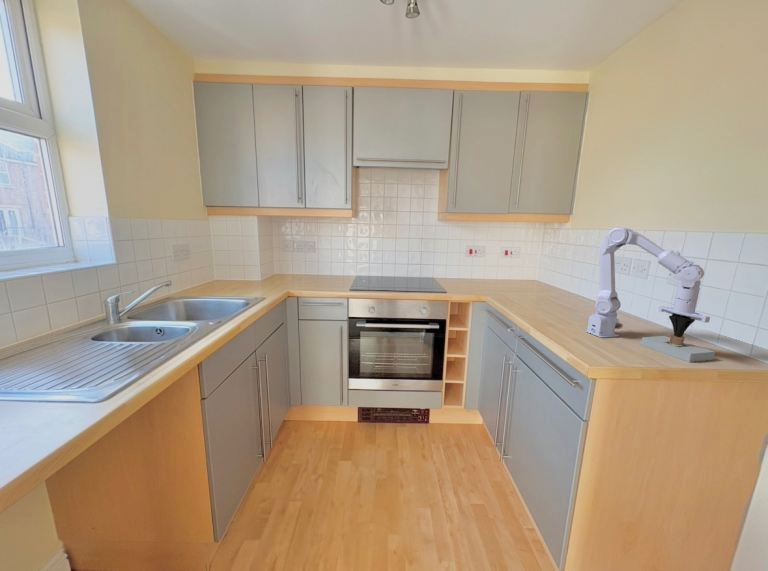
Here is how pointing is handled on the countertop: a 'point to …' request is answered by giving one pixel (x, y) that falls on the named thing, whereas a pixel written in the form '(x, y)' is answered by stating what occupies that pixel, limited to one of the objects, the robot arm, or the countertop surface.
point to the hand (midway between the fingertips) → (678, 335)
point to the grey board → (678, 349)
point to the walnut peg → (676, 340)
